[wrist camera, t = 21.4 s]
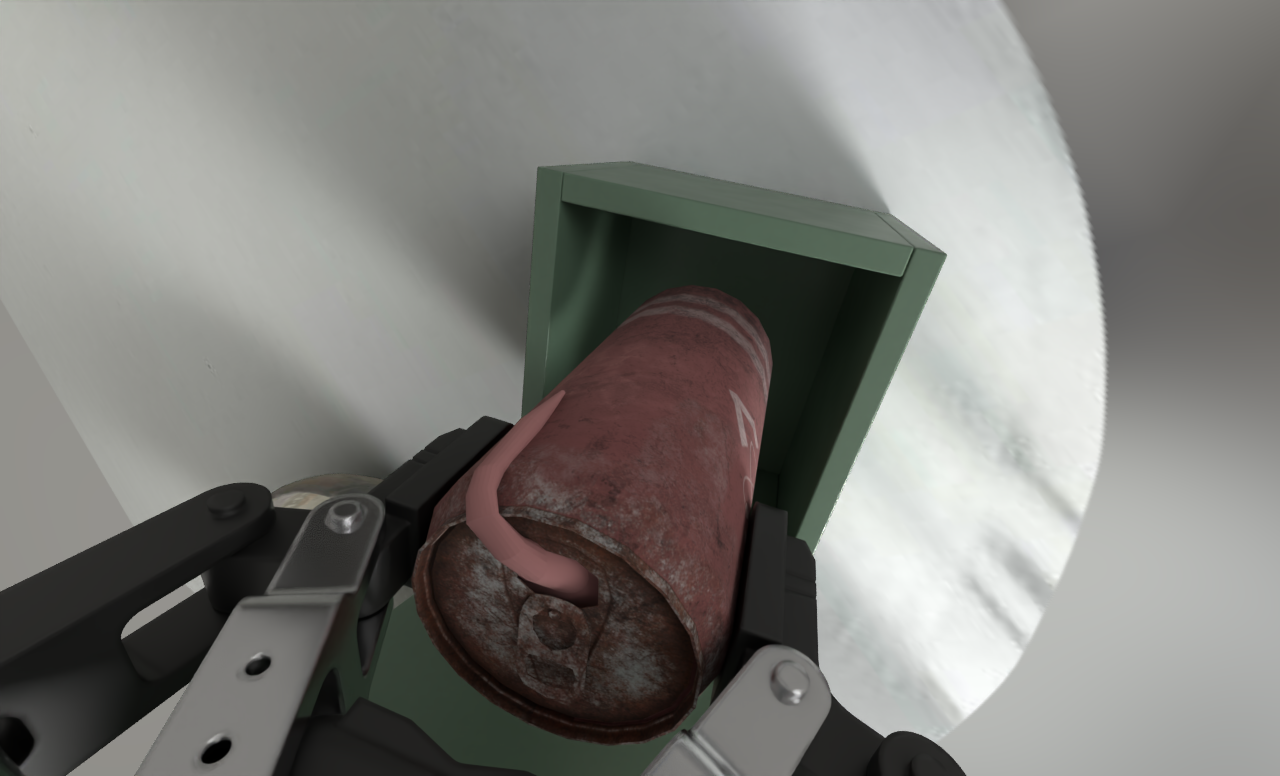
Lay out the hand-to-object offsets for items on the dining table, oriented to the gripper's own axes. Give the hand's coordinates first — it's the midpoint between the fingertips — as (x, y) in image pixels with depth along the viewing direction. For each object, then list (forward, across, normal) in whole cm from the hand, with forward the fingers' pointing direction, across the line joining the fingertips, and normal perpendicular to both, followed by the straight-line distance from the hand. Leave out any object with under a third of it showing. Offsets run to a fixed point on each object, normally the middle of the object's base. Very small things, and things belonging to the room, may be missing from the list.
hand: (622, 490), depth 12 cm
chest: (+19, 0, +3) cm, 20 cm away
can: (+10, 0, 0) cm, 10 cm away
